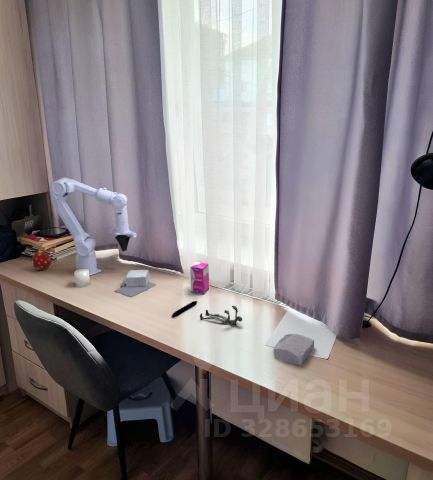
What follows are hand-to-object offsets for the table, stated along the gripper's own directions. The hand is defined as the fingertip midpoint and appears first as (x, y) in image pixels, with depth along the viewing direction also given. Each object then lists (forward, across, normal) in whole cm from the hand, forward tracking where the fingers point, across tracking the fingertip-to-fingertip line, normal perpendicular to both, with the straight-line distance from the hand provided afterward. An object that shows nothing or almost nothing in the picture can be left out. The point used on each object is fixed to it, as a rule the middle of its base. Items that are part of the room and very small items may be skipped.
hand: (124, 250), depth 180 cm
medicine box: (+8, +10, -10) cm, 16 cm away
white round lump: (+10, -7, -19) cm, 23 cm away
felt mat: (+10, +16, -12) cm, 22 cm away
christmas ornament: (+11, -38, -16) cm, 43 cm away
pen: (+11, +45, -17) cm, 50 cm away
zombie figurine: (+11, +61, -18) cm, 65 cm away
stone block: (+11, +89, -24) cm, 93 cm away
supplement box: (+11, +41, -1) cm, 42 cm away
